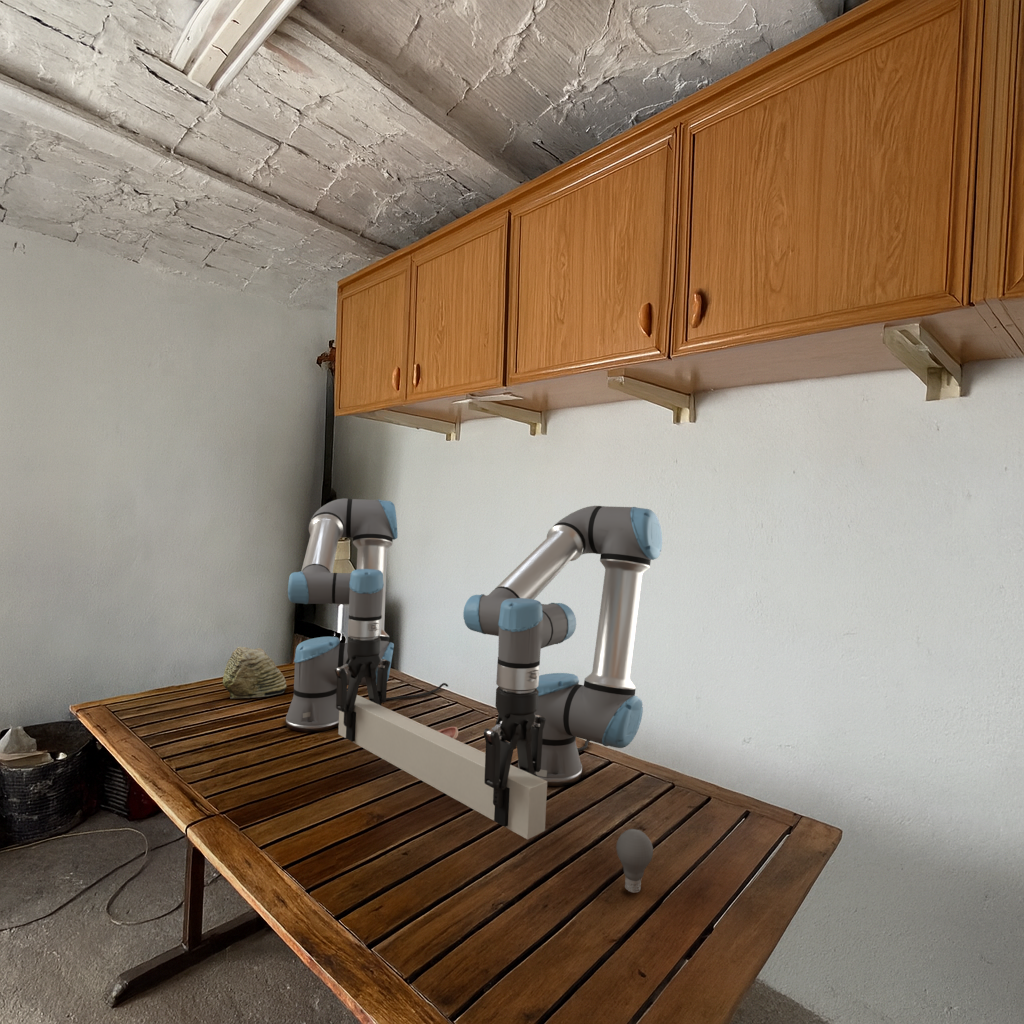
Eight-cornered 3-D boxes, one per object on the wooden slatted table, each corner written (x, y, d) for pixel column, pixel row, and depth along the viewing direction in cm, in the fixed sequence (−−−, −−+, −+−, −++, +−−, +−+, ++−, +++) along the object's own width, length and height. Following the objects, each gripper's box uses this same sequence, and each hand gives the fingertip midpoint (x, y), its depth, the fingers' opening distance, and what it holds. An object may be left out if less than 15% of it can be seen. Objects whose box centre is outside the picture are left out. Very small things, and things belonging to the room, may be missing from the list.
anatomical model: (398, 735, 159) (414, 720, 170) (398, 751, 159) (414, 734, 170) (449, 741, 156) (462, 725, 167) (448, 757, 156) (461, 740, 168)
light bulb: (610, 879, 108) (613, 822, 108) (644, 879, 109) (647, 822, 109) (619, 902, 102) (622, 840, 102) (655, 901, 103) (658, 840, 103)
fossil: (218, 695, 195) (220, 647, 195) (278, 685, 208) (279, 640, 207) (228, 703, 189) (230, 653, 188) (289, 692, 201) (290, 645, 201)
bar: (338, 734, 149) (339, 697, 149) (354, 730, 152) (356, 694, 152) (527, 839, 106) (529, 788, 106) (545, 830, 109) (547, 781, 109)
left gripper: (338, 644, 137) (334, 751, 138) (405, 635, 150) (401, 733, 150) (321, 638, 143) (317, 741, 143) (387, 629, 155) (383, 724, 156)
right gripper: (496, 702, 103) (489, 844, 103) (565, 683, 115) (559, 810, 116) (466, 691, 108) (459, 826, 108) (535, 674, 121) (529, 796, 121)
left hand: (360, 736), depth 147 cm, fingers closed on bar, 4 cm apart
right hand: (511, 818), depth 112 cm, fingers closed on bar, 4 cm apart
